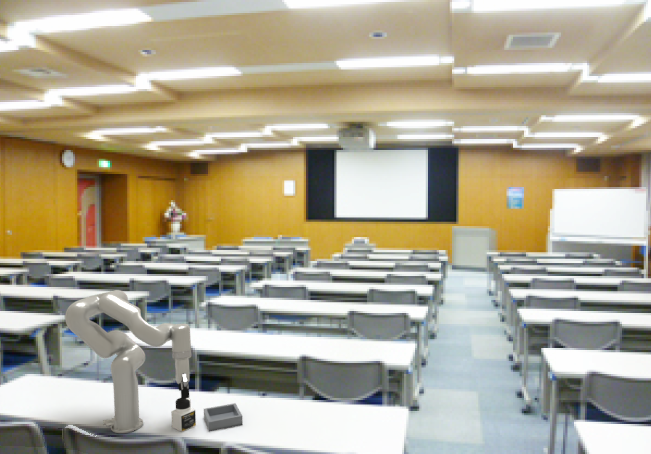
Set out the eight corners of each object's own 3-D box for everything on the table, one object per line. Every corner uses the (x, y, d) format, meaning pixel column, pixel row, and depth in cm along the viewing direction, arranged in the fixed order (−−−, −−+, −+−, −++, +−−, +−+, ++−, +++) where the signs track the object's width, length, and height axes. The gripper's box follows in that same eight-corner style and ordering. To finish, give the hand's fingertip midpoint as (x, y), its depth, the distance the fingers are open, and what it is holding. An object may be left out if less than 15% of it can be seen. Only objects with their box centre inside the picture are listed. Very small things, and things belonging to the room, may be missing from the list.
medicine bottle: (181, 432, 196) (181, 403, 195) (171, 427, 200) (170, 399, 200) (196, 425, 201) (195, 398, 201) (185, 421, 206) (184, 394, 205)
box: (208, 431, 196) (208, 422, 196) (203, 417, 209) (203, 408, 209) (242, 425, 201) (242, 415, 201) (235, 411, 214) (235, 403, 214)
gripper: (170, 349, 206) (172, 388, 207) (174, 361, 190) (176, 403, 191) (188, 347, 209) (190, 385, 209) (193, 358, 193) (195, 399, 194)
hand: (184, 393), depth 200 cm, fingers open, 9 cm apart
